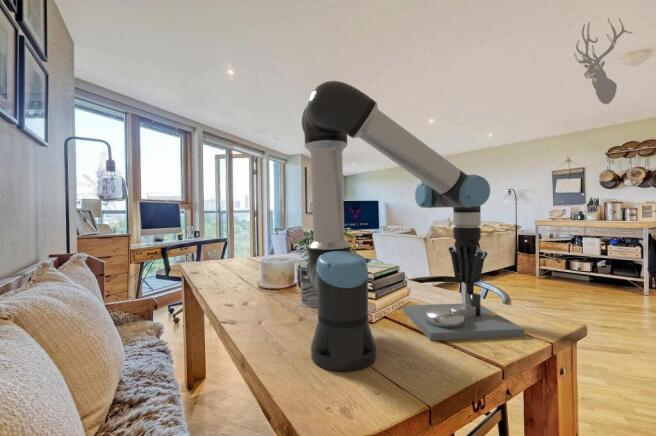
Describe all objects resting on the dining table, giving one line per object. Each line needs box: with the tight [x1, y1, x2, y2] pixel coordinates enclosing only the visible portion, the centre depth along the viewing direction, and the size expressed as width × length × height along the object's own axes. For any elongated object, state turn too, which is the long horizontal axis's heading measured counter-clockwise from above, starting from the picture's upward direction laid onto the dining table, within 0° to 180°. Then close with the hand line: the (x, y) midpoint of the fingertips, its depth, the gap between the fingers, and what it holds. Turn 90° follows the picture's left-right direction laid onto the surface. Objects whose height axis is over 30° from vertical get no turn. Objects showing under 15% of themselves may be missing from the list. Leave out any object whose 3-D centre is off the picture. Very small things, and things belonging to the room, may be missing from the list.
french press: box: [297, 234, 318, 308], centre depth 110 cm, size 10×12×25 cm
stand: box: [402, 302, 525, 342], centre depth 89 cm, size 25×22×2 cm
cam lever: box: [426, 292, 482, 329], centre depth 86 cm, size 18×10×6 cm, turn 114°
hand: (466, 303), depth 92 cm, fingers closed
